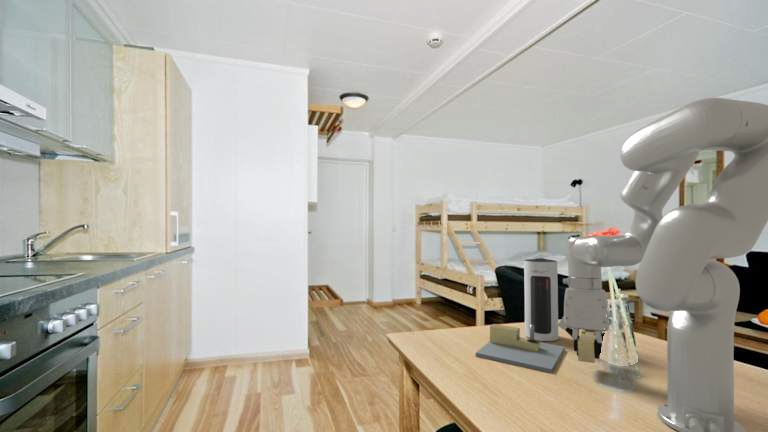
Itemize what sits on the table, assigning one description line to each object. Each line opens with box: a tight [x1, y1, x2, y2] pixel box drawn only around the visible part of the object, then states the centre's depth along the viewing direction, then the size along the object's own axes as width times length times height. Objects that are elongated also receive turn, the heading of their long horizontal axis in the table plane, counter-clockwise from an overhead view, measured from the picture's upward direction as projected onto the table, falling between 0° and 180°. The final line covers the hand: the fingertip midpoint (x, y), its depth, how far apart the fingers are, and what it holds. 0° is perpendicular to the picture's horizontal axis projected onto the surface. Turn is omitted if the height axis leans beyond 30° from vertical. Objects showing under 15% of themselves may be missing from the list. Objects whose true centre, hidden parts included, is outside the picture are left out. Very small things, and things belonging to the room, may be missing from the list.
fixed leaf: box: [489, 323, 542, 352], centre depth 110 cm, size 4×14×7 cm, turn 55°
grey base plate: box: [475, 340, 565, 374], centre depth 106 cm, size 20×20×1 cm
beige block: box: [577, 329, 597, 364], centre depth 96 cm, size 14×4×5 cm, turn 145°
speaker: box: [523, 257, 559, 343], centre depth 121 cm, size 11×10×26 cm
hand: (588, 355), depth 93 cm, fingers closed on beige block, 3 cm apart
